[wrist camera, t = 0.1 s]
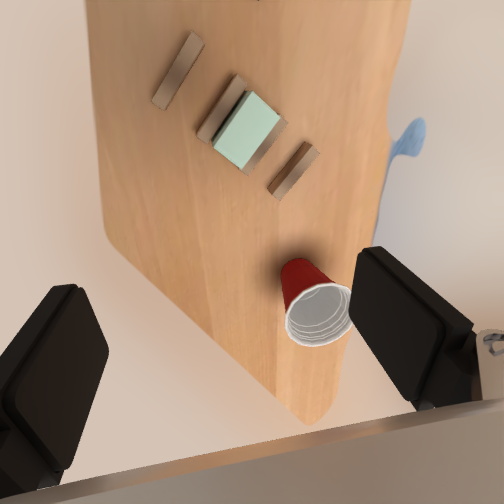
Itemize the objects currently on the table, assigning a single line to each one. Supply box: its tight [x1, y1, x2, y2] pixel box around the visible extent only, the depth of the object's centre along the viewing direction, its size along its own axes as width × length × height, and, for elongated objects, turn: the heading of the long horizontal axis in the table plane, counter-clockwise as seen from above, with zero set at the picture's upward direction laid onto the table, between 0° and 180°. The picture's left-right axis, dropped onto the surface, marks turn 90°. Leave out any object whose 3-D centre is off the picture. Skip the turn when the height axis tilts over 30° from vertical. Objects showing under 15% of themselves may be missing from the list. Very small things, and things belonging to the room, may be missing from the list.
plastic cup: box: [281, 258, 353, 347], centre depth 44 cm, size 11×11×12 cm
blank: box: [211, 91, 281, 170], centre depth 33 cm, size 7×4×6 cm, turn 141°
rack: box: [151, 31, 320, 201], centre depth 35 cm, size 8×19×3 cm, turn 51°
